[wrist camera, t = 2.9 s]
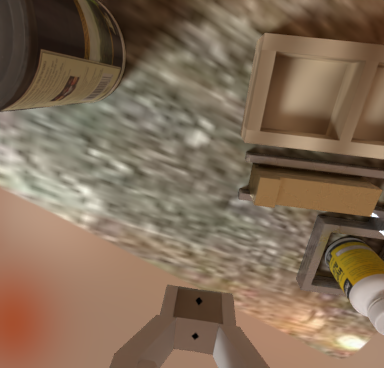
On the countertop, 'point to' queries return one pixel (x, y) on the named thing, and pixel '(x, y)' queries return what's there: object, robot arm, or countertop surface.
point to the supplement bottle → (359, 277)
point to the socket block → (325, 220)
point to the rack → (316, 96)
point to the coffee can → (58, 53)
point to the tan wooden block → (312, 190)
